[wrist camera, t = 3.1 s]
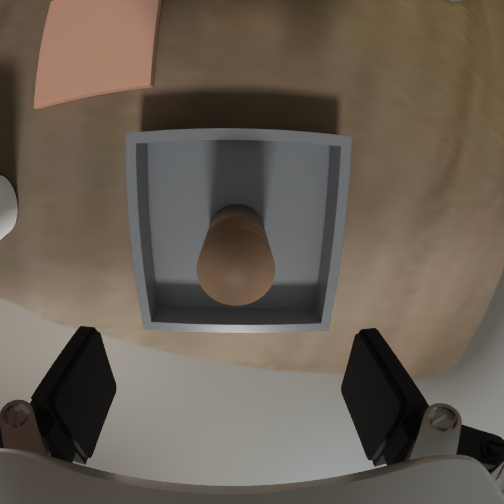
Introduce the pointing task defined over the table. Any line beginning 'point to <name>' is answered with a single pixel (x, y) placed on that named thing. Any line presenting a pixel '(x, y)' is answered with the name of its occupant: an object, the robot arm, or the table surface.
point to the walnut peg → (236, 257)
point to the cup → (7, 207)
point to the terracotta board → (96, 49)
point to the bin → (246, 193)
